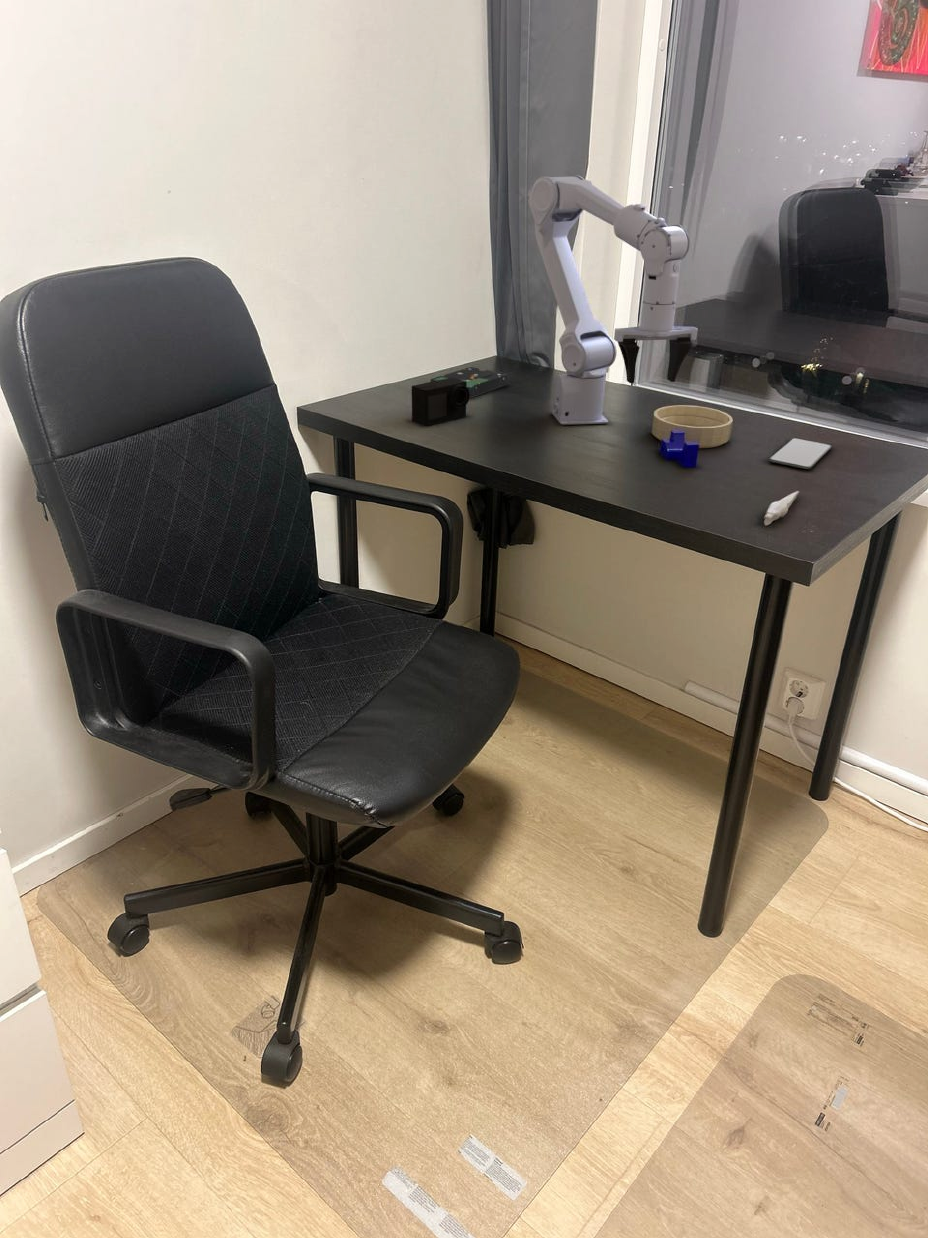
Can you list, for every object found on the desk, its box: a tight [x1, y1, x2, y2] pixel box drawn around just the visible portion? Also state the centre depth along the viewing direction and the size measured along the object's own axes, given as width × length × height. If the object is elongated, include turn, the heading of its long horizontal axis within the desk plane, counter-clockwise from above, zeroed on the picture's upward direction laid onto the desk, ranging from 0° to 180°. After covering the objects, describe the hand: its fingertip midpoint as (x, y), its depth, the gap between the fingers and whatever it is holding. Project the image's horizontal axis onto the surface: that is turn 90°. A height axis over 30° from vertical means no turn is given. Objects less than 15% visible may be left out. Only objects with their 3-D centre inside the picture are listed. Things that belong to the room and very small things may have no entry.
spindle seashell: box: [763, 490, 800, 526], centre depth 133 cm, size 15×3×2 cm, turn 144°
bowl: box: [651, 404, 734, 449], centre depth 163 cm, size 14×14×4 cm
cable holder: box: [659, 430, 700, 469], centre depth 152 cm, size 8×4×4 cm, turn 9°
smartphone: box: [769, 437, 832, 470], centre depth 156 cm, size 7×1×15 cm
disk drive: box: [430, 366, 509, 399], centre depth 190 cm, size 10×3×15 cm
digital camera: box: [411, 378, 470, 427], centre depth 169 cm, size 10×5×7 cm, turn 131°
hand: (650, 381), depth 158 cm, fingers open, 7 cm apart
